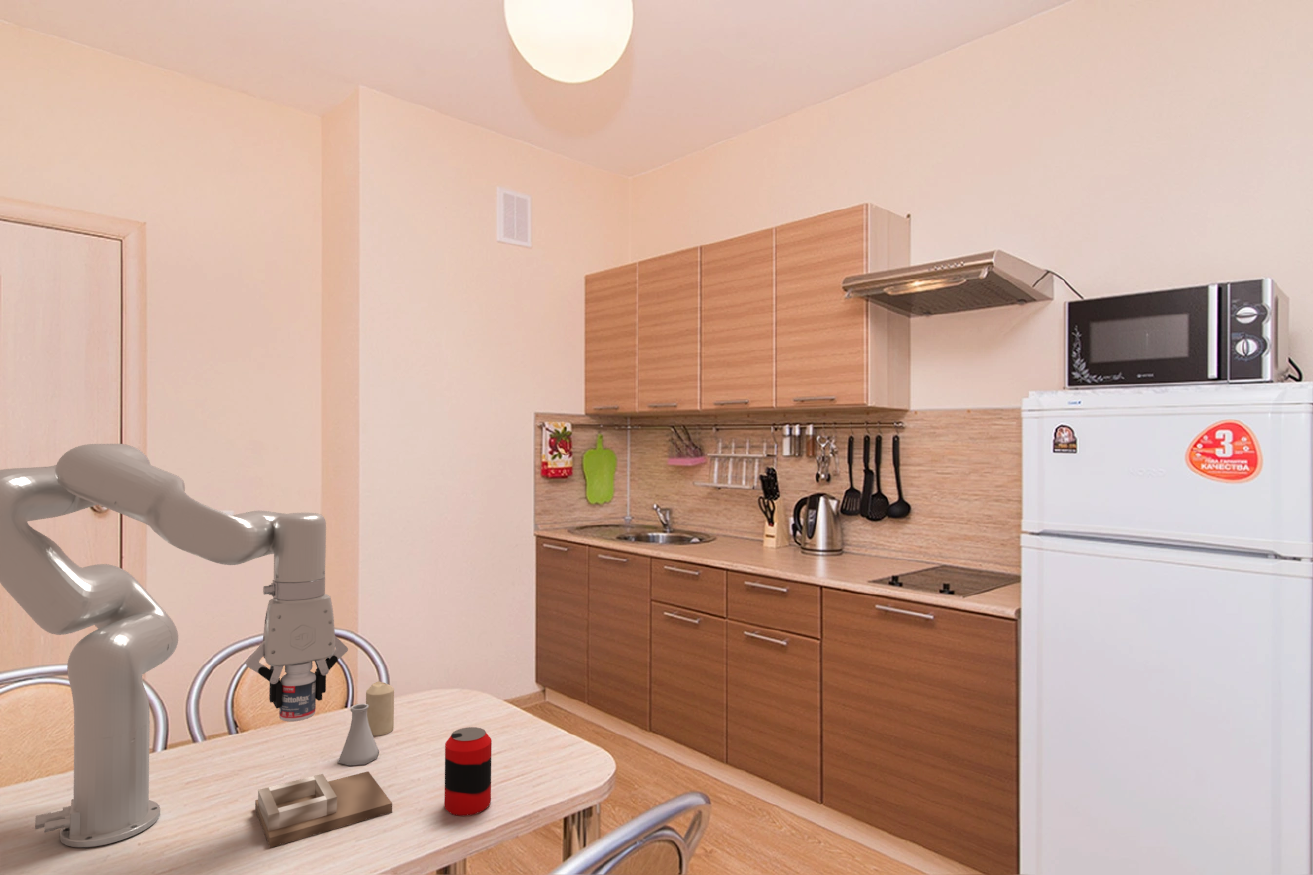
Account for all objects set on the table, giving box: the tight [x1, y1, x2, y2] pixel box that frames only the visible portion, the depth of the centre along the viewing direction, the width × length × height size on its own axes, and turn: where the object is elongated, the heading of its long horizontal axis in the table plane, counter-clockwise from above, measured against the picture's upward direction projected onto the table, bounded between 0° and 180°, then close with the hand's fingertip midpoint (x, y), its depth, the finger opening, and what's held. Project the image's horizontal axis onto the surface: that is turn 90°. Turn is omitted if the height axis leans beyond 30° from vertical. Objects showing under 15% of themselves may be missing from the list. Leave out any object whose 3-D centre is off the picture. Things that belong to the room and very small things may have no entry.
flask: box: [337, 703, 380, 766], centre depth 140 cm, size 7×7×10 cm
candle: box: [365, 681, 395, 737], centre depth 153 cm, size 6×6×10 cm
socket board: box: [254, 771, 393, 849], centre depth 120 cm, size 18×14×4 cm
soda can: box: [443, 726, 492, 817], centre depth 122 cm, size 8×8×12 cm
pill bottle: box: [278, 661, 317, 723], centre depth 118 cm, size 5×5×9 cm
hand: (297, 700), depth 118 cm, fingers closed on pill bottle, 5 cm apart
